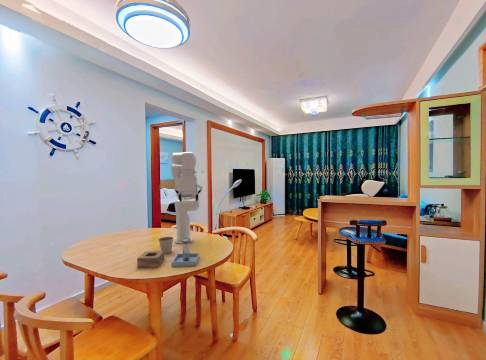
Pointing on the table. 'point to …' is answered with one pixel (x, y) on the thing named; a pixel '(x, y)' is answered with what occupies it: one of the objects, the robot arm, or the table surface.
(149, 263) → the socket block
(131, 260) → the table surface
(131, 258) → the table surface
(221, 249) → the table surface
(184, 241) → the pin
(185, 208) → the robot arm
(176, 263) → the tray
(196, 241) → the table surface
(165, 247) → the flower pot
